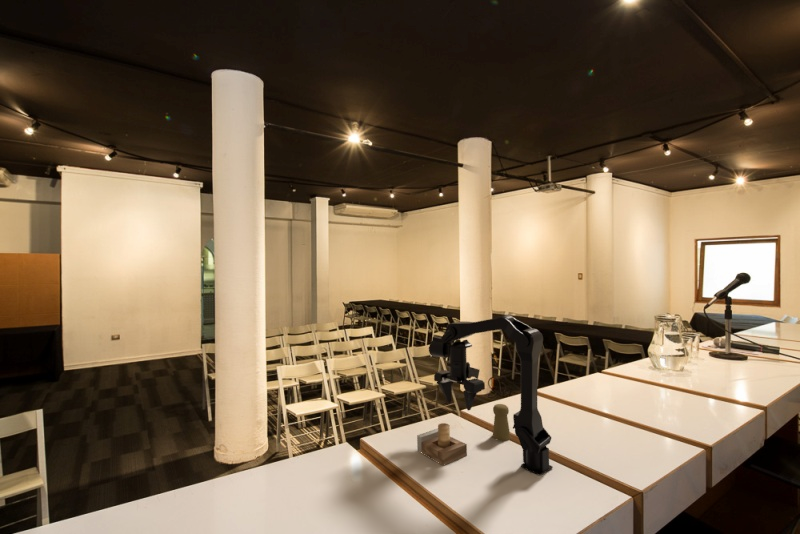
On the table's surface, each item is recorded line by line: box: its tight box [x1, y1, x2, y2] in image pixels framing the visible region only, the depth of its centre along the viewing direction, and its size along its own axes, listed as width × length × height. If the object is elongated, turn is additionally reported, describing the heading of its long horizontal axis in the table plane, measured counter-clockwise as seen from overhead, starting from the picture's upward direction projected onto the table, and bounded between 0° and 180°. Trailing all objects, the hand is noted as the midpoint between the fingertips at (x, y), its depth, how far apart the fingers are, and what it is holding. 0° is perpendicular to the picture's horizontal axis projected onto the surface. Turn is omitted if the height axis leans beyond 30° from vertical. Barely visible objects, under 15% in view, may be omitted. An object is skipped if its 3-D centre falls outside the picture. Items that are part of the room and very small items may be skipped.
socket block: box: [421, 436, 468, 466], centre depth 123 cm, size 10×10×4 cm
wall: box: [416, 427, 438, 453], centre depth 127 cm, size 2×9×5 cm, turn 126°
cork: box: [492, 403, 512, 442], centre depth 134 cm, size 6×6×11 cm
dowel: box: [437, 422, 451, 449], centre depth 123 cm, size 4×4×8 cm
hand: (459, 406), depth 131 cm, fingers open, 9 cm apart
